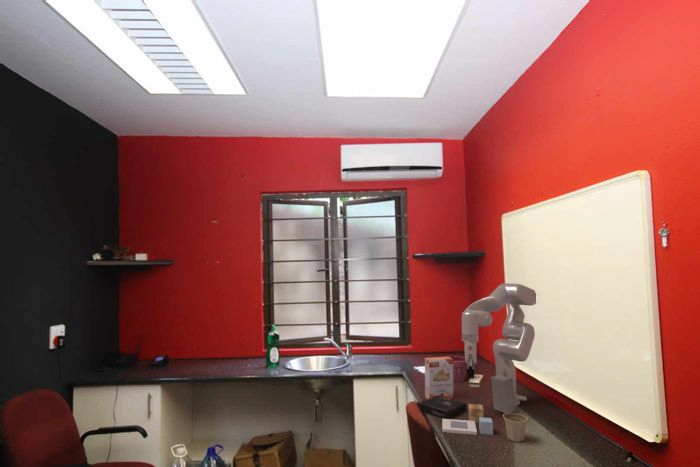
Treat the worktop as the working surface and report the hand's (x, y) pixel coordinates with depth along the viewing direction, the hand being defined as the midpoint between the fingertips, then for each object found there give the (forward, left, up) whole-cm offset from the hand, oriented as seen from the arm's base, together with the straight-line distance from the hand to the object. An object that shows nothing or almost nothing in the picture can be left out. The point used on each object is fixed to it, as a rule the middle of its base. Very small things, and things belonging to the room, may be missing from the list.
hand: (470, 375), depth 194 cm
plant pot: (+4, -61, -19) cm, 64 cm away
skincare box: (-16, -11, -19) cm, 27 cm away
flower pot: (-16, +22, -19) cm, 33 cm away
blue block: (-5, +17, -19) cm, 26 cm away
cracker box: (+14, -23, -19) cm, 33 cm away
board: (+6, +15, -19) cm, 25 cm away
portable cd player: (+13, -5, -19) cm, 24 cm away
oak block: (-2, +4, -19) cm, 19 cm away
